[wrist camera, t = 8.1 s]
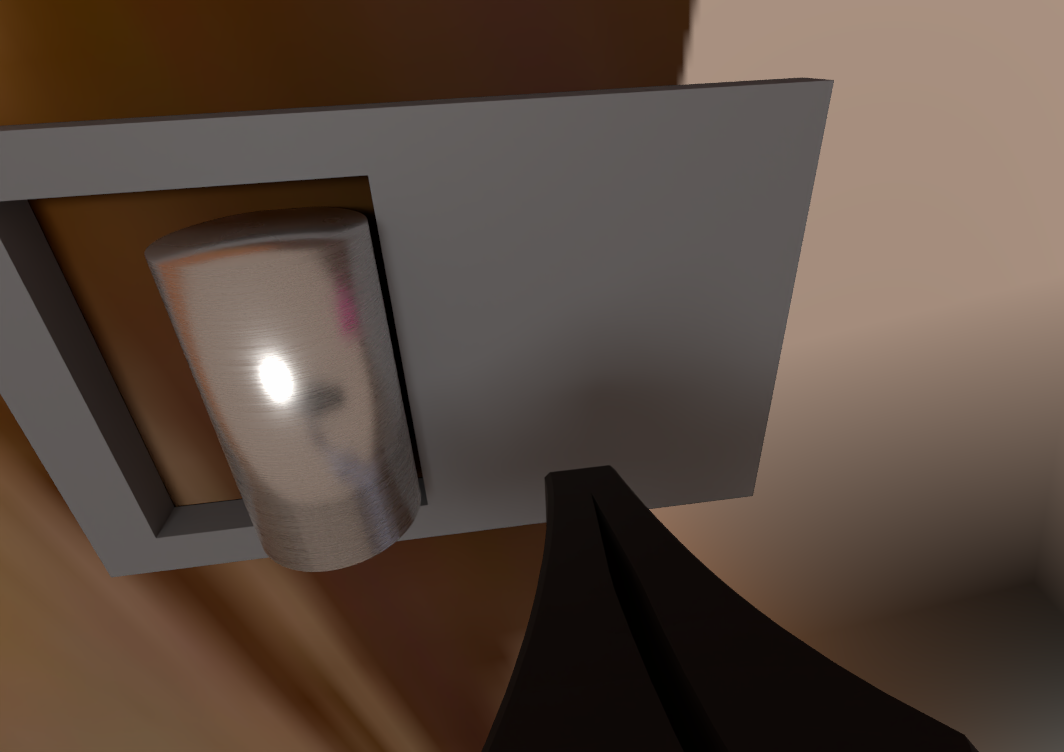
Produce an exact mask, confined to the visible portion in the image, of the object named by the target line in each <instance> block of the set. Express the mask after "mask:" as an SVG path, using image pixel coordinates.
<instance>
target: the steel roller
mask: <svg viewBox="0 0 1064 752" xmlns="http://www.w3.org/2000/svg"><path fill="white" fill-rule="evenodd" d="M145 258H146V260H147V263H148V265H149V268H150V270H151V273H152V275H153V278H154V280H155V283H156V285H157V288H158V290H159V293H160V295H161V297H162V300H163V302H164V305H165V307H166V310H167V312H168V315H169V317H170V320H171V322H172V325H173V327H174V330H175V332H176V335H177V337H178V340H179V342H180V345H181V347H182V350H183V352H184V355H185V357H186V360H187V362H188V364H189V367H190V369H191V372H192V374H193V377H194V379H195V382H196V384H197V387H198V389H199V392H200V394H201V397H202V399H203V402H204V404H205V407H206V409H207V412H208V414H209V417H210V419H211V422H212V424H213V426H214V429H215V431H216V434H217V436H218V439H219V441H220V444H221V446H222V449H223V451H224V454H225V456H226V459H227V461H228V464H229V466H230V469H231V471H232V474H233V476H234V479H235V481H236V484H237V486H238V488H239V491H240V493H241V496H242V498H243V501H244V503H245V506H246V508H247V511H248V513H249V516H250V518H251V521H252V523H253V526H254V528H255V531H256V533H257V536H258V538H259V541H260V543H261V546H262V548H263V549H264V551H265V553H266V554H267V555H268V556H269V557H270V558H271V559H272V560H273V561H275V562H276V563H278V564H280V565H282V566H284V567H287V568H290V569H293V570H299V571H308V572H320V571H330V570H336V569H341V568H345V567H349V566H352V565H355V564H357V563H360V562H363V561H365V560H367V559H369V558H372V557H373V556H375V555H377V554H379V553H381V552H382V551H384V550H385V549H387V548H388V547H390V546H391V545H392V544H394V543H395V542H396V541H397V540H398V539H399V538H400V537H401V536H402V535H403V534H404V533H405V532H406V531H407V530H408V529H409V527H410V526H411V525H412V523H413V522H414V520H415V518H416V516H417V514H418V511H419V509H420V503H421V492H420V487H419V482H418V477H417V472H416V467H415V462H414V457H413V451H412V446H411V441H410V436H409V431H408V426H407V421H406V415H405V410H404V405H403V400H402V395H401V390H400V385H399V380H398V374H397V369H396V364H395V359H394V354H393V349H392V344H391V338H390V333H389V328H388V323H387V318H386V313H385V308H384V303H383V297H382V292H381V287H380V282H379V277H378V272H377V267H376V261H375V256H374V251H373V246H372V241H371V236H370V231H369V226H368V220H367V218H366V216H365V215H363V214H362V213H360V212H357V211H354V210H350V209H344V208H335V207H302V208H290V209H277V210H265V211H256V212H249V213H244V214H238V215H233V216H228V217H223V218H219V219H214V220H210V221H206V222H203V223H199V224H196V225H192V226H189V227H186V228H183V229H180V230H178V231H175V232H173V233H170V234H168V235H166V236H164V237H162V238H160V239H158V240H156V241H155V242H153V243H152V244H151V245H149V246H148V248H147V249H146V250H145Z"/></svg>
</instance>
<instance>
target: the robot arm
mask: <svg viewBox="0 0 1064 752" xmlns="http://www.w3.org/2000/svg"><path fill="white" fill-rule="evenodd" d="M544 479H545V501H546V524H547V530H546V539H545V547H544V554H543V560H542V565H541V570H540V575H539V581H538V586H537V591H536V595H535V599H534V603H533V607H532V611H531V615H530V619H529V622H528V626H527V629H526V633H525V636H524V640H523V643H522V646H521V649H520V652H519V655H518V658H517V661H516V664H515V667H514V670H513V673H512V676H511V679H510V682H509V685H508V687H507V690H506V693H505V695H504V698H503V700H502V703H501V705H500V708H499V710H498V713H497V715H496V718H495V720H494V723H493V725H492V728H491V730H490V733H489V735H488V738H487V740H486V743H485V745H484V747H483V749H482V752H978V750H977V749H976V748H975V747H974V746H973V745H972V743H971V742H970V741H969V740H968V739H967V737H966V736H965V735H964V734H962V733H960V732H958V731H956V730H954V729H952V728H950V727H949V726H947V725H945V724H943V723H941V722H939V721H937V720H935V719H933V718H932V717H930V716H928V715H926V714H924V713H922V712H920V711H918V710H916V709H915V708H913V707H911V706H909V705H907V704H905V703H903V702H901V701H899V700H897V699H896V698H894V697H892V696H890V695H888V694H886V693H885V692H883V691H881V690H879V689H878V688H876V687H874V686H872V685H871V684H869V683H868V682H866V681H864V680H863V679H861V678H859V677H858V676H856V675H854V674H852V673H851V672H849V671H847V670H846V669H844V668H842V667H841V666H839V665H837V664H836V663H834V662H833V661H831V660H830V659H828V658H827V657H825V656H824V655H822V654H821V653H819V652H818V651H816V650H815V649H813V648H812V647H810V646H809V645H807V644H806V643H804V642H803V641H801V640H800V639H798V638H797V637H795V636H794V635H792V634H791V633H789V632H788V631H786V630H785V629H783V628H782V627H780V626H779V625H778V624H776V623H775V622H774V621H772V620H771V619H770V618H768V617H767V616H766V615H764V614H763V613H762V612H760V611H759V610H757V609H756V608H755V607H754V606H753V605H751V604H750V603H749V602H748V601H746V600H745V599H744V598H742V597H741V596H740V595H739V594H737V593H736V592H735V591H734V590H733V589H731V588H730V587H729V586H728V585H727V584H725V583H724V582H723V581H722V580H721V579H720V578H718V577H717V576H716V575H715V574H714V573H713V572H712V571H710V570H709V569H708V568H707V567H706V566H705V565H704V564H703V563H702V562H700V560H698V559H697V558H696V557H695V556H694V555H693V554H692V553H691V552H690V551H689V550H688V549H687V548H686V547H685V546H684V545H683V544H682V543H681V542H680V541H679V540H678V539H677V538H676V537H675V536H674V535H673V534H672V533H671V532H670V531H669V530H668V529H667V528H666V527H665V526H664V525H663V524H662V523H661V522H660V521H659V520H658V519H657V518H656V517H655V516H654V515H653V513H652V512H651V511H650V510H649V509H648V508H647V507H646V506H645V505H644V503H643V502H642V501H641V500H640V499H639V498H638V497H637V495H636V494H635V493H634V492H633V491H632V490H631V488H630V487H629V486H628V485H627V484H626V482H625V481H624V480H623V479H622V478H621V476H620V475H619V474H618V473H617V471H616V470H615V469H614V468H613V467H611V466H610V465H606V466H597V467H589V468H580V469H572V470H564V471H555V472H550V473H548V474H547V475H546V476H545V477H544Z"/></svg>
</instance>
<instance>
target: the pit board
mask: <svg viewBox="0 0 1064 752" xmlns="http://www.w3.org/2000/svg"><path fill="white" fill-rule="evenodd" d="M833 83H834V80H825V79H813V78H788V79H772V80H757V81H756V80H755V81H739V82H722V83H705V84H689V85H672V86H655V87H639V88H622V89H606V90H589V91H573V92H556V93H539V94H523V95H506V96H490V97H473V98H456V99H440V100H423V101H407V102H390V103H374V104H357V105H340V106H324V107H307V108H291V109H274V110H258V111H241V112H224V113H208V114H191V115H175V116H158V117H141V118H125V119H108V120H92V121H75V122H59V123H42V124H25V125H9V126H0V394H1V395H2V397H3V399H4V400H5V402H6V404H7V405H8V407H9V409H10V410H11V412H12V414H13V415H14V417H15V419H16V420H17V422H18V424H19V425H20V427H21V428H22V430H23V432H24V433H25V435H26V437H27V438H28V440H29V442H30V443H31V445H32V447H33V448H34V450H35V452H36V453H37V455H38V457H39V458H40V460H41V462H42V463H43V465H44V467H45V468H46V470H47V472H48V473H49V475H50V477H51V478H52V480H53V482H54V483H55V485H56V487H57V488H58V490H59V492H60V493H61V495H62V496H63V498H64V500H65V501H66V503H67V505H68V506H69V508H70V510H71V511H72V513H73V515H74V516H75V518H76V520H77V521H78V523H79V525H80V526H81V528H82V530H83V531H84V533H85V535H86V536H87V538H88V540H89V541H90V543H91V545H92V546H93V548H94V550H95V551H96V553H97V555H98V556H99V558H100V560H101V561H102V563H103V564H104V566H105V568H106V569H107V571H108V573H109V574H110V576H111V577H118V576H125V575H133V574H141V573H149V572H157V571H165V570H173V569H181V568H189V567H196V566H204V565H212V564H220V563H228V562H236V561H244V560H252V559H259V558H267V557H269V556H268V555H267V554H266V553H265V551H264V549H263V548H262V546H261V543H260V541H259V538H258V536H257V533H256V531H255V528H254V526H253V523H252V521H251V518H250V516H249V513H248V511H247V508H246V506H245V503H244V501H243V499H240V500H231V501H223V502H214V503H206V504H197V505H189V506H180V507H174V505H173V503H172V501H171V499H170V497H169V495H168V493H167V491H166V489H165V486H164V484H163V482H162V480H161V478H160V476H159V474H158V472H157V470H156V468H155V466H154V463H153V461H152V459H151V457H150V455H149V453H148V451H147V449H146V447H145V445H144V443H143V441H142V438H141V436H140V434H139V432H138V430H137V428H136V426H135V424H134V422H133V420H132V418H131V416H130V413H129V411H128V409H127V407H126V405H125V403H124V401H123V399H122V397H121V395H120V393H119V390H118V388H117V386H116V384H115V382H114V380H113V378H112V376H111V374H110V372H109V370H108V368H107V365H106V363H105V361H104V359H103V357H102V355H101V353H100V351H99V349H98V347H97V345H96V343H95V340H94V338H93V336H92V334H91V332H90V330H89V328H88V326H87V324H86V322H85V320H84V317H83V315H82V313H81V311H80V309H79V307H78V305H77V303H76V301H75V299H74V297H73V295H72V292H71V290H70V288H69V286H68V284H67V282H66V280H65V278H64V276H63V274H62V272H61V270H60V267H59V265H58V263H57V261H56V259H55V257H54V255H53V253H52V251H51V249H50V247H49V244H48V242H47V240H46V238H45V236H44V234H43V232H42V230H41V228H40V226H39V224H38V222H37V219H36V217H35V215H34V213H33V211H32V209H31V207H30V205H29V203H28V201H27V199H40V198H54V197H68V196H82V195H96V194H110V193H124V192H138V191H152V190H166V189H180V188H194V187H208V186H223V185H237V184H251V183H265V182H279V181H293V180H307V179H321V178H335V177H349V176H363V175H368V178H369V183H370V189H371V194H372V200H373V205H374V211H375V216H376V222H377V227H378V233H379V238H380V244H381V249H382V255H383V260H384V266H385V271H386V277H387V282H388V288H389V293H390V299H391V304H392V310H393V315H394V321H395V326H396V332H397V337H398V343H399V348H400V354H401V359H402V365H403V370H404V375H405V381H406V386H407V392H408V397H409V403H410V408H411V414H412V419H413V425H414V430H415V436H416V441H417V447H418V452H419V458H420V463H421V469H422V474H423V478H418V482H419V487H420V492H421V503H420V509H419V511H418V514H417V516H416V518H415V520H414V522H413V523H412V525H411V526H410V527H409V529H408V530H407V531H406V532H405V533H404V534H403V535H402V536H401V537H400V538H399V539H398V540H397V541H401V540H409V539H417V538H425V537H433V536H441V535H449V534H456V533H464V532H472V531H480V530H488V529H496V528H504V527H512V526H519V525H527V524H535V523H543V522H546V501H545V479H544V477H545V476H546V475H547V474H548V473H550V472H555V471H564V470H572V469H580V468H589V467H597V466H606V465H610V466H611V467H613V468H614V469H615V470H616V471H617V473H618V474H619V475H620V476H621V478H622V479H623V480H624V481H625V482H626V484H627V485H628V486H629V487H630V488H631V490H632V491H633V492H634V493H635V494H636V495H637V497H638V498H639V499H640V500H641V501H642V502H643V503H644V505H645V506H646V507H647V508H648V509H653V508H661V507H669V506H676V505H685V504H692V503H700V502H708V501H716V500H724V499H732V498H740V497H748V496H753V492H754V487H755V482H756V477H757V472H758V467H759V462H760V456H761V451H762V446H763V440H764V436H765V431H766V426H767V421H768V415H769V410H770V405H771V400H772V395H773V390H774V384H775V380H776V374H777V369H778V364H779V359H780V354H781V349H782V344H783V339H784V334H785V328H786V323H787V318H788V313H789V308H790V303H791V298H792V293H793V287H794V282H795V277H796V272H797V267H798V262H799V257H800V252H801V246H802V241H803V236H804V231H805V226H806V221H807V215H808V211H809V206H810V200H811V195H812V190H813V185H814V180H815V175H816V169H817V165H818V159H819V154H820V149H821V144H822V139H823V134H824V129H825V124H826V119H827V113H828V108H829V103H830V98H831V93H832V88H833Z"/></svg>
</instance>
